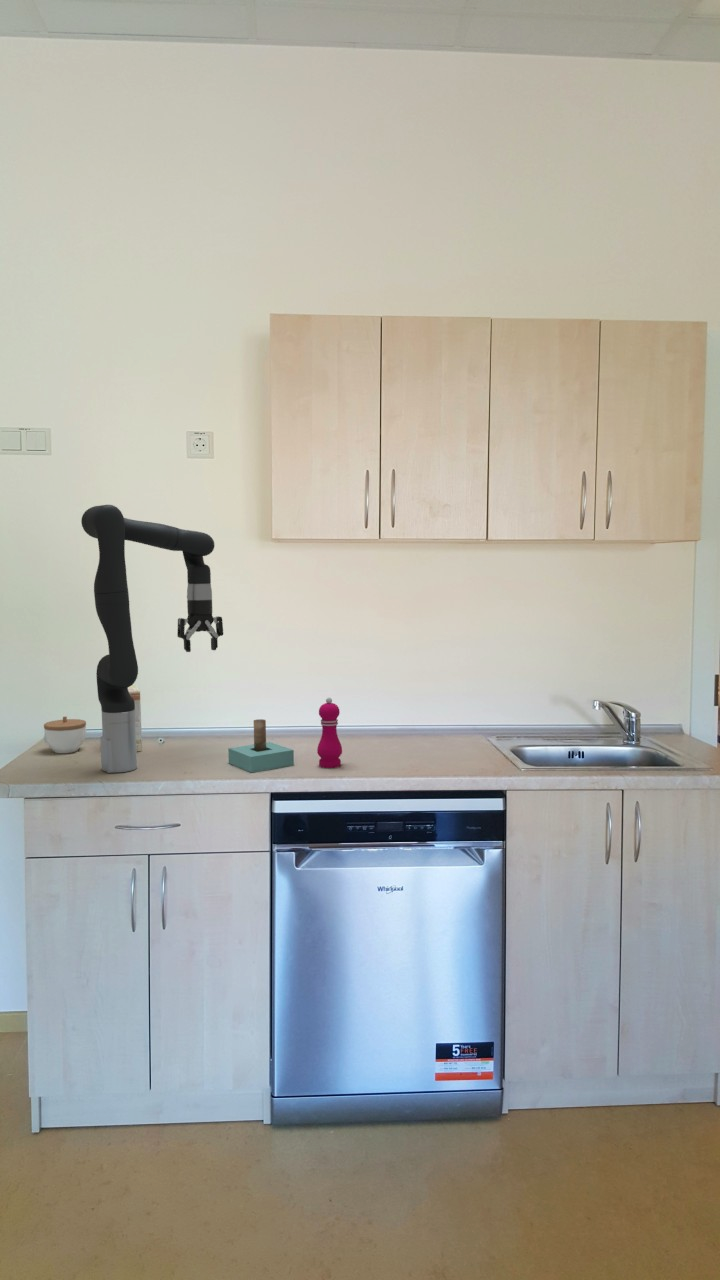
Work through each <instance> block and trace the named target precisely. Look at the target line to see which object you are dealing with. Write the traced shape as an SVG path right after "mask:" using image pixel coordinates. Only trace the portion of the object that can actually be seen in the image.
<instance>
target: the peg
mask: <svg viewBox="0 0 720 1280" xmlns="http://www.w3.org/2000/svg"><path fill="white" fill-rule="evenodd" d="M266 721H267V720H266V719H260V718H259V719H254V720H253V744H254V751H256V752H259V751H266V742H267V729H266V728H267V725H266V724H267V722H266Z"/></svg>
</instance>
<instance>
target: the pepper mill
mask: <svg viewBox="0 0 720 1280" xmlns="http://www.w3.org/2000/svg"><path fill="white" fill-rule="evenodd" d="M340 714H341V713H340V707H339V706H338V705H337V704H336V703H333V699H332V698H331V697H327V698H326V699H325V703H322V704H321V705H320V707H319V709H318V715H319V717H320V718H321V719H320V725H321V727H322V728H321V729H322V731H321V732H322V733H321V737H320V740H319V742H318V745H317V750H316V751H317V754H318V756H319V757H320V758H319V760H318V766H319V767H320V768H323V767H324V769H335V767H336V768H339V767H341V765H342V763H341V762H342V761H341V760H342V759H340V757H341V756H342V754H343V747H342V744H341V742H340V739H339V737H338V732H337V726H338V724H339V720H338V717H339V716H340Z"/></svg>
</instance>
